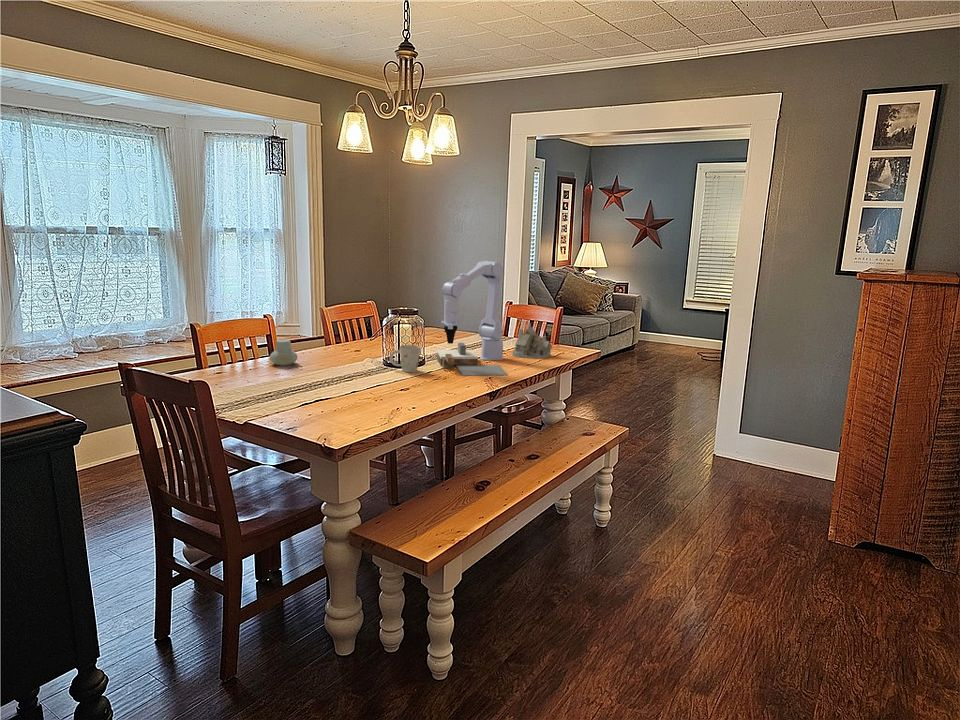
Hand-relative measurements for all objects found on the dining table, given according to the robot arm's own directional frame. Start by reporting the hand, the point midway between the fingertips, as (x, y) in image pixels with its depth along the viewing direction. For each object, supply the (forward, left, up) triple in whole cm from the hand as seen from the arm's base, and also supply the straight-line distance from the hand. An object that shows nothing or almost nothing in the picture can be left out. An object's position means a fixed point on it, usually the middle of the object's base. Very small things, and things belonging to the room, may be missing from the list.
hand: (450, 343), depth 268 cm
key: (+1, +6, -6) cm, 9 cm away
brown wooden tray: (-4, -6, -10) cm, 13 cm away
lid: (-4, -9, -7) cm, 12 cm away
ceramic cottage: (-42, -22, -11) cm, 49 cm away
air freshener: (+69, -7, -11) cm, 70 cm away
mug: (+20, +6, -11) cm, 23 cm away
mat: (-12, +7, -10) cm, 18 cm away
